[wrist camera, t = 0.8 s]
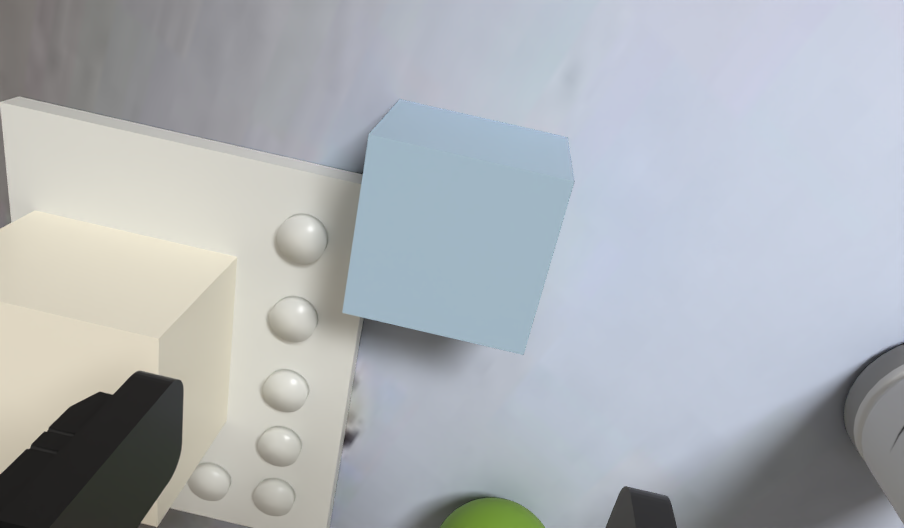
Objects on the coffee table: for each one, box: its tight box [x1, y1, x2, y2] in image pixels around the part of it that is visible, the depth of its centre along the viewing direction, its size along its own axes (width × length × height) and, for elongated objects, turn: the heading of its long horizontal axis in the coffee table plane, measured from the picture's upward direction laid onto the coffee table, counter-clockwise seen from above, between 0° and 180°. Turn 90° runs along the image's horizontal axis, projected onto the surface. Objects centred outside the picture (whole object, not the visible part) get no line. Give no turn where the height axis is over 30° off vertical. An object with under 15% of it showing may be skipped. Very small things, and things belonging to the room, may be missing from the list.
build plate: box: [0, 97, 364, 528], centre depth 29 cm, size 18×14×2 cm
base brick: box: [0, 210, 237, 527], centre depth 25 cm, size 8×8×6 cm
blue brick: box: [342, 99, 574, 355], centre depth 23 cm, size 6×6×5 cm
